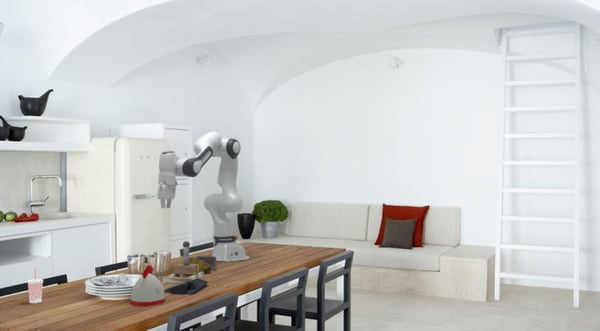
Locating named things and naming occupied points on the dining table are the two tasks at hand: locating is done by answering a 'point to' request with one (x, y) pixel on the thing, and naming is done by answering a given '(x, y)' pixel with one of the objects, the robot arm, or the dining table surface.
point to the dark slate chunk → (187, 287)
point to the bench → (178, 277)
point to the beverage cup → (35, 289)
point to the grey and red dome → (147, 290)
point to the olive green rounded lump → (200, 264)
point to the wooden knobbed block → (186, 264)
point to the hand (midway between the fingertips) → (165, 208)
